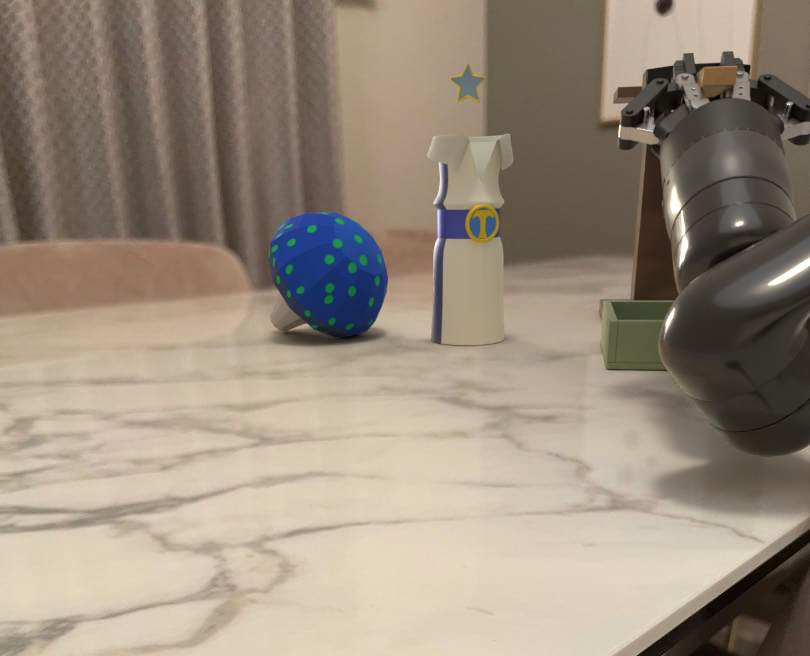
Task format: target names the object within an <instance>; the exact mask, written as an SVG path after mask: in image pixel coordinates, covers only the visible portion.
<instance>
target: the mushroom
mask: <svg viewBox="0 0 810 656" xmlns="http://www.w3.org/2000/svg"><path fill="white" fill-rule="evenodd" d="M267 260H268V265H269V269H270V274H271V279H272V283H273V284H274V286H275V287H276V289H277V291H278V292H279V294H278V297H277V300H276V303H275V304H274V307H273V309H272V310H271V312H270V315H269V319H270V322H271V323H272V325H273V327H274V328H275V329H277V331H281V332H287V331H290V330H292V329H295V328H298V327H300V326H302V325H308V326H309V327H310V328H311V329H312V330H315V331H317V332H319V333H322V334H325V335H327V336H330V337H333V338H335V339H339V338H348V337H352V336H355V335H359V334H362V333H366V332H368V331H369V329H371V327H372V326H373V325H374V324H375V323H376V321H377V319H378V316H379V314H380V312H381V310H382V308H383V305H384V302H385V298H386V295H387V293H388V284H389V275H388V271H387V266H386V262H385V259H384V255H383V250H382V249H381V248H380V246H379V244H378V243H377V242H376V239H375V238H374V236H372V234H371V233H370V232H369V231H368V230H367V229H366V228H365V227H363V226H362V224H360V222H357V221H355V220H353V219H351V218H349V217H348V216H345V215H343V214H340V213H338V212H335V211H334V212H331V211H330V212H329V211H327V212H326V211H325V212H324V211H323V212H322V211H319V212H306V213H302V214H298V215H296V216H294V217H290V218H289V219H287V220H286V221H284V222H283V223H282V224H280V225H279V226H278V229H277V231H276V232H275V233H274V236H273V238H272V239H271V241H270V244H269V249H268V253H267Z"/></svg>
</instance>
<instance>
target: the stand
mask: <svg viewBox="0 0 810 656" xmlns="http://www.w3.org/2000/svg"><path fill="white" fill-rule="evenodd" d="M641 91H642V85H635V86H617V87H616V89H615V91H614V93H613V96H612V97H613V98H612V100H613V101H612V104H613V105H620V104H623V105H624V104H629V103H630V102H631V101H632V100H633V99H634V98H635V97H636V96H637V95H638V94H639V93H640V92H641ZM662 119H663V118H662ZM662 119H661V120H662ZM661 120H660V121H661ZM639 172H640V173H639V183H638V185H639V186H638V197H637V209H636V210H637V211H636V222H635V232H634V233H635V234H634V244H633V246H634V247H633V259H632V272H631V282H630V283H631V284H630V295H629V298H615V299H614V298H601V299H599V309H598V312H599V315H600V320H601V321H602V312H603V301H675V300H676V298H677V297H678V295H679V293H678V291H677V287H676V283H675V278H674V269H673V258H672V247H671V241H670V239H669V236H668V232H667V228H666V223H665V218H664V217H663V209H662V202H663V189H662V177H661V165H660V159H659V158H658V157H657V156H655V155H654V154H653V152H652V149H651V145H650V144H645V143H642V145H641V161H640V171H639Z"/></svg>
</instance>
